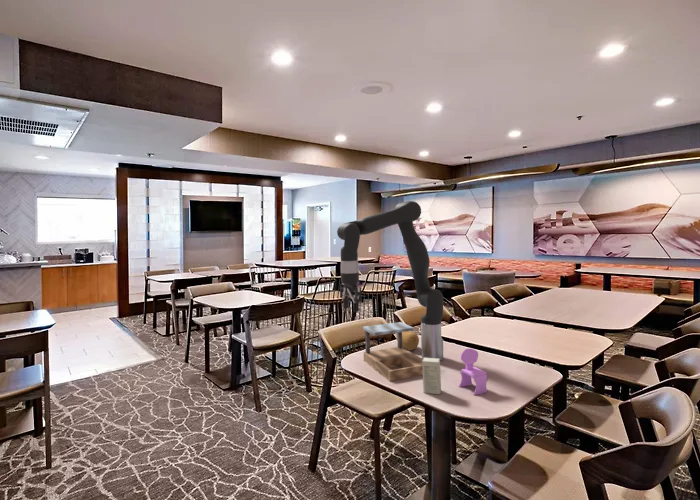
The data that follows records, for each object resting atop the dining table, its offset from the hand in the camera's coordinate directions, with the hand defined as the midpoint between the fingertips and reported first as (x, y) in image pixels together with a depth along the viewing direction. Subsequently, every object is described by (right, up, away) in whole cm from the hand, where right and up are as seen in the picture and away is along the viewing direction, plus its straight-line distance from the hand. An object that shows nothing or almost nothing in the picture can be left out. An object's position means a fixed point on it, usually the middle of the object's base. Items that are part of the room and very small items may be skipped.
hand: (351, 310), depth 154 cm
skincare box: (+30, -28, -15) cm, 44 cm away
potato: (+30, -26, +36) cm, 53 cm away
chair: (+46, -28, -14) cm, 56 cm away
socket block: (+20, -27, +11) cm, 35 cm away
